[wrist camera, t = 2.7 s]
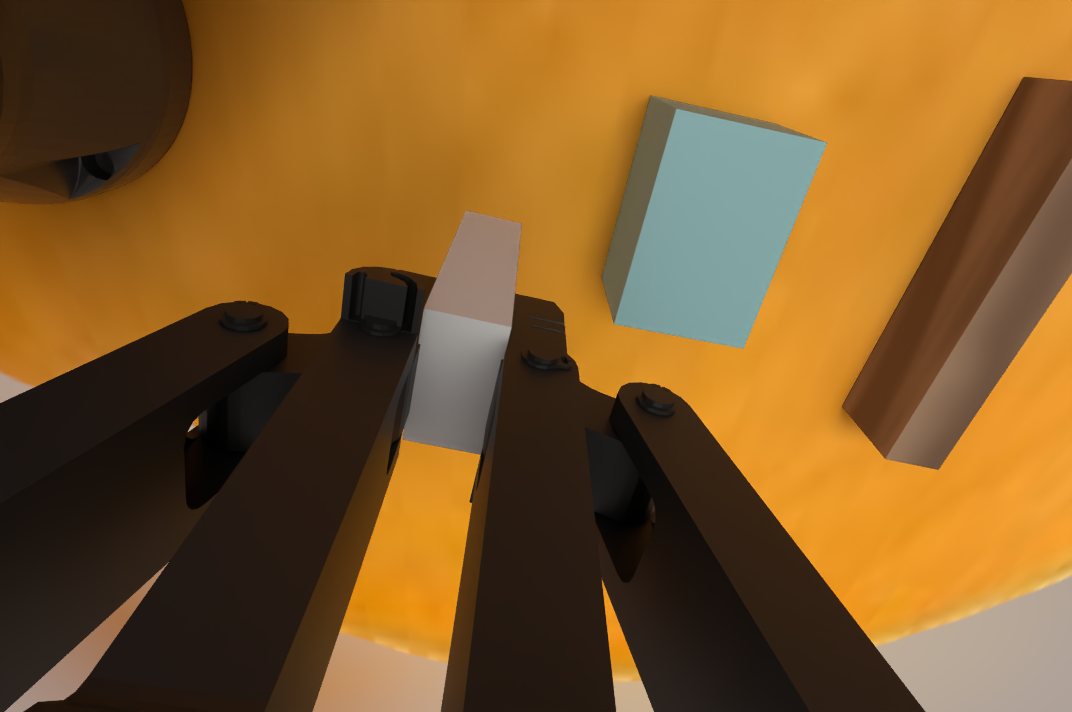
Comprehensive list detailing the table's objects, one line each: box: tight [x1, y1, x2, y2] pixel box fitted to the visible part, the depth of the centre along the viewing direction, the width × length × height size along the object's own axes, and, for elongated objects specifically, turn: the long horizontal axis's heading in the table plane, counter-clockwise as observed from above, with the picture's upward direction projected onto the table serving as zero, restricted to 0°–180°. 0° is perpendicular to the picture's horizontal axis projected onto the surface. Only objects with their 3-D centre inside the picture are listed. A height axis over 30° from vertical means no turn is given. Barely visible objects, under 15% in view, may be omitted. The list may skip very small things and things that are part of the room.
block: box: [602, 96, 827, 349], centre depth 28 cm, size 6×9×6 cm, turn 169°
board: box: [842, 77, 1072, 470], centre depth 30 cm, size 3×18×5 cm, turn 167°
